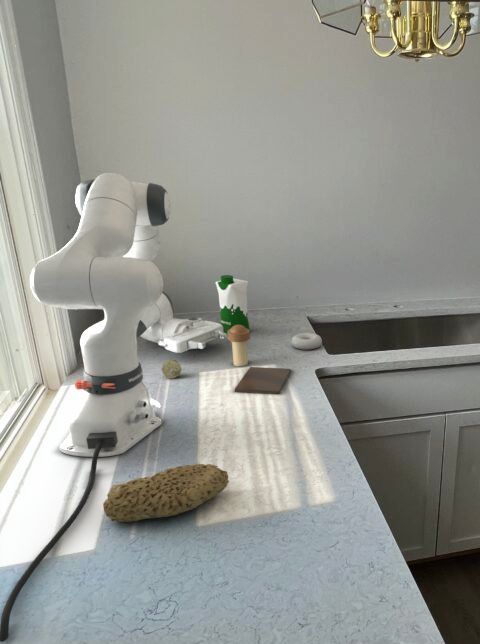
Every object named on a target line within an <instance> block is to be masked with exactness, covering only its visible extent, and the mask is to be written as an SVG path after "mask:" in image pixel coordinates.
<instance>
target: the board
mask: <svg viewBox="0 0 480 644" xmlns="http://www.w3.org/2000/svg"><path fill="white" fill-rule="evenodd" d="M291 372H292V369H291V368H284V367H283V368H281V367H260V366H259V367H258V366H250V367H249V368H248V369H247V371H246V372H245V374H244V375H243V377H242V378H241V379H240V381H239V382H238V384H237V385H236V386H235V388H234V393H249V394H271V395H280V393H281V391H282V389H283V387H284V385H285V384H286V381H287V379H288V378H289V376H290V373H291Z"/></svg>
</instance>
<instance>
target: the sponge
mask: <svg viewBox="0 0 480 644" xmlns="http://www.w3.org/2000/svg"><path fill="white" fill-rule="evenodd" d="M229 483H230V481H229V475H228V471H227V470H223V469H221V468H219V467H218V465H215V464H211V463H206V464H204V463H196V464H186V465H179V466H175V467H169V468H165V469H164V471H162V470H160V471H158V472H156V473H155V474H153V475H151V476H146V477H138V478H135V479H132V480H129V481H126V482H120V483H115V484H113V485H112V486H111V487H110V490H109V491H108V493H107V495H106V496H107V498H106V499H104V501H103V503H102V506H103V512H104V515H105V516H106V517H107V518H108V519H109V520H110V521H111V522H121V523H128V522H138V521H139V522H140V521H141V520H142V521H143V520H146V519H159V518H167V517H172V516H176V515H179V514H183V513H185V512H187V511H191V510H193V509H196V508H197V507H198V506H200V505H202V504H203V503H205V502H206V501H208V500H210V499H212V498H214V497H215V496H218V495H220V493H221V492H223V491H224V490H225V489H226V488H227V487H228V484H229Z"/></svg>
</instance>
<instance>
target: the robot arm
mask: <svg viewBox="0 0 480 644" xmlns="http://www.w3.org/2000/svg"><path fill="white" fill-rule="evenodd" d="M74 198H75V199H74V200H75V206H76V208H77V212H78V214H79V215H80V221H79V224H78V227H77V230H76V233H75V234H74V236H73V237H72V238H71V239H70V240H69V242H67V243H66V245H65V246H63V247H62V248H61V249H60V250H58V251H57V252H55V253H54V254H52V255H50V256H49V257H46V258H43V259H41V260H39V261H38V262H37V263H36V264H35V265H34V266H33V268H32V270H31V272H30V274H29V287H30V289H31V292H32V294H33V296H34V297H35V299H36V300H37V301H38V302H39V303H40V304H42V305H43V306H46V307H52V308H56V309H63V310H102V311H103V314H104V318H103V320H101V321H100V320H99V321H98V322H96V323H94V324H92V325H91V326H89V327H87V329H85V330H84V331H83V332H82V334H81V336H80V339H79V345H80V350H81V357H82V362H83V366H84V369H83V373H82V378H81V379H82V380H80V379H77V380H76V381H75V383H74V387H75V389H76V390H82V393H81V395H80V397H79V399H78V401H77V404H76V406H75V408H74V410H73V413H72V415H71V416H70V420H69V433H68V435H67V436H66V437H65V438H64V440H63V442H61V444H60V446H59V450H60V452H62V453H64V454H66V455H69V456H74V457H75V456H76V457H87V458H89V457H90V458H91V465H90V470H89V471H90V472H89V476H88V481H87V484H86V487H85V490H84V492H83V495H82V497H81V498H80V501H79V503H78V504H77V506H76V508H75V509H74V511H73V512H72V513H71V515H70V517H69V518H67V520H66V521H65V522H64V524H63V525H62V526H61V527H60V528H59V530H58V531H57V532H56V533H55V535H54V536H53V537H52V538H51V540H50V541H49V542H48V543H47V544H46V545H45V546H44V547H43V548H42V550H41V551H40V552H39V553H38V554H37V555H36V557H35V558H34V560H32V562H31V563H30V564H29V566H27V567H28V568H27V569H26V570H25V571H24V573H23V574H22V576H20V578H19V580H18V581H17V583H16V584H15V586H14V587H13V589H12V591H11V592H10V594H9V597H8V598H7V600H6V603H5V604H4V607H3V610H2V613H1V616H0V643H4V642H6V641H7V639H8V638H9V629H10V619H11V612H12V610H13V607H14V605H15V602H16V600H17V598H18V596H19V594H20V592H21V591H22V589H23V587H24V585H25V584H26V582H27V581H28V579H29V578H30V577H31V576H32V574H33V573H34V572H35V570H36V569H37V568H38V566H39V565H40V563H41V562H42V561H43V559H44V558H46V556H47V555H48V554H49V552H50V551H51V550H52V549H53V548H54V547H55V546H56V544H57V543H58V542H59V540H60V539H61V538H62V537H63V536H64V534H66V532H67V531H68V529H69V528H70V527H71V526H72V525H73V523H74V522H75V520H76V519H77V518H78V517H79V515H80V513H81V512H82V510H83V508H84V507H85V505H86V503H87V501H88V500H89V497H90V494H91V492H92V490H93V487H94V483H95V478H96V473H97V466H98V460H99V458H101V457H102V458H103V457H104V458H105V457H112V456H113V457H114V456H119V455H122V454H124V453H126V452H127V451H128V450H130V449H131V448H132V447H134V446H135V445H136V444H138V443H139V442H140V441H141V440H143V439H144V438H145V437H146V436H148V435H149V434H151V433H152V432H153V431H155V430H156V429H157V428H159V427H160V426H162V419H161V418H160V417H158V416H157V415H156V411H155V407H157V408H161V403H160V402H159V401H157V400H155V399H153V398H152V394H151V391H150V390H149V388H147V386H146V385H145V383H144V382H143V379H144V374H143V373H144V372H143V368H142V364H141V363H140V362H139V355H138V343H137V338H139V337H141V338H143V339H145V340H146V341H149V342H152V343H156V344H157V345H158V346H160V347H164V349H165V350H167V351H170V352H173V353H175V354H180V353H181V354H182V353H183V352H187V351H189V350H193V349H194V350H195V349H196V350H197V349H200V350H203V349H205V348H206V347H207V346H206V345H207V344H206V343H208V342H210V341H213V340H215V339H218V338H219V340H221V341H224V340H226V339H227V340H228V335H227V334H226V333H224V332H223V326H222V325H221V323H219V322H215V321H212V320H203V318H202V317H193V318H181V319H180V318H175V317H174V316H175V312H174V306H173V301H172V299H171V297H170V296H169V294H167V293H166V292H165V291H164V278H163V275H162V273H161V270H160V269H159V268H158V266H157V265H156V264H155V263H154V262H153V260H154V259H155V258H157V256H158V254H159V252H160V249H161V235H160V228H159V226H163V225H165V224H166V223H167V222H168V221H169V219H170V215H171V212H172V201H171V198H170V196H169V194H168V191H167V189H166V188H164V187H163V185H160V184H157V183H153V182H149V183H145V182H139V181H132V180H129V179H128V178H127V177H125V176H124V175H122V174H119V173H114V172H105V173H101V174H100V175H98V176H97V177H96V178H93V179H87V180H83V181H81V182H80V183H79V184H78V185H77V187H76V189H75V196H74ZM154 406H155V407H154Z"/></svg>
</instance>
